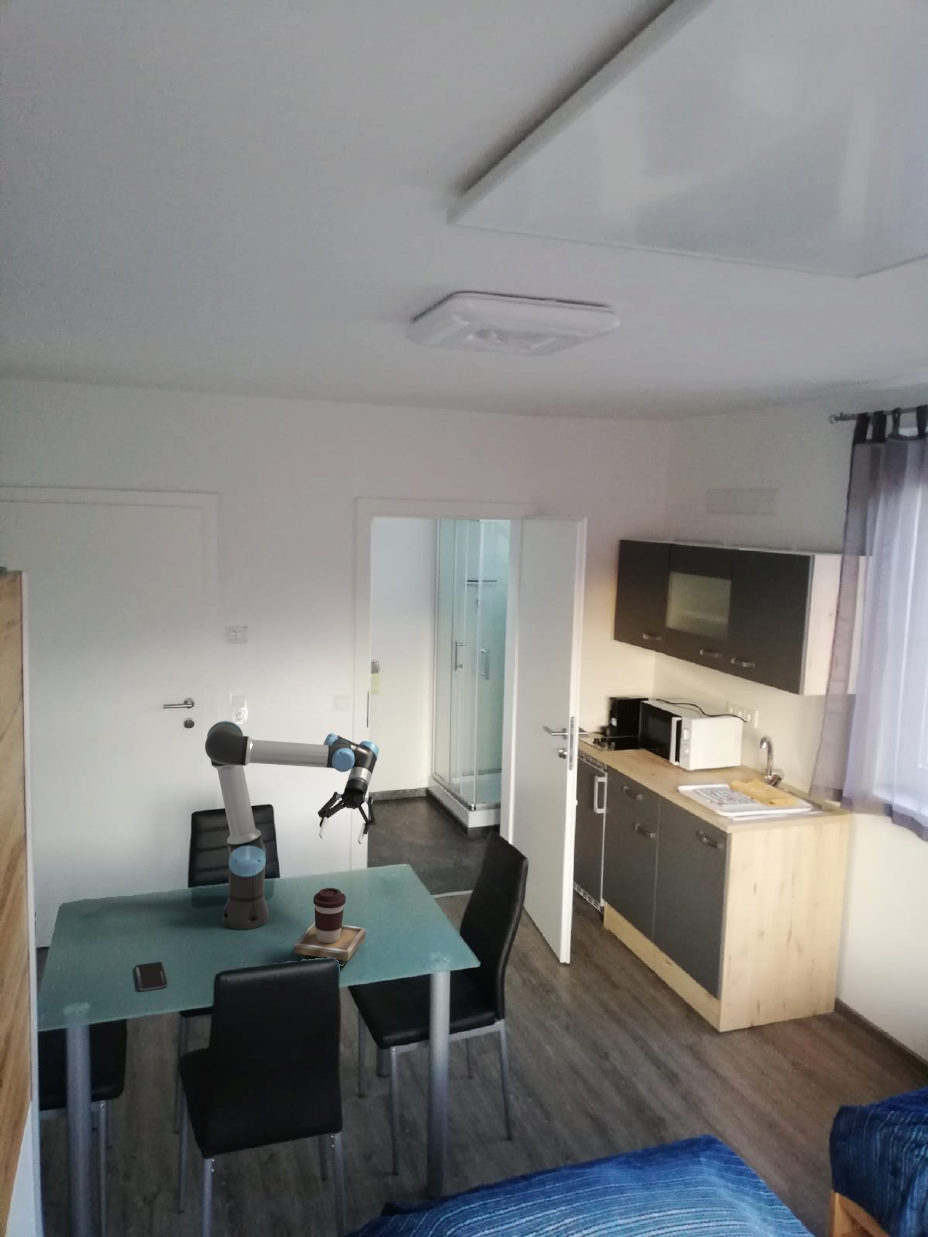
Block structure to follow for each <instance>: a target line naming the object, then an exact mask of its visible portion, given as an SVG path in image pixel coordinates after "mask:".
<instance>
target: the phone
mask: <svg viewBox="0 0 928 1237" xmlns="http://www.w3.org/2000/svg"><path fill="white" fill-rule="evenodd" d="M164 967H165V966H164V963H163V962H162V961H155V962H147V963H141V964H136V965H135V966H134V972H135V979H136V985H137V991H138V992H139V993H145V992H151V991H159V990H164V989H167V988H168V980H167V977H166V973H165V968H164Z"/></svg>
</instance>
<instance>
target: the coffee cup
mask: <svg viewBox="0 0 928 1237" xmlns="http://www.w3.org/2000/svg"><path fill="white" fill-rule="evenodd" d="M312 899H313V902H312V903H313V904H314V905H315V907H314V922H315V927H316V939H317V940H318V941H319V942H322V943H333V942H336V941H338V940H339V938H340V931H341V926H342V925H343V918H344V911H345V910H344V909H345V908H344V905H345V904H346V901H347V897H346V894H344V893H343V892H341V890H340V889H338V888H334V887H325V888H322V889H320V890H319V891H318V892H317V893H315V894H314V896H313V898H312Z"/></svg>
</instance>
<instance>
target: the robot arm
mask: <svg viewBox="0 0 928 1237" xmlns="http://www.w3.org/2000/svg"><path fill="white" fill-rule="evenodd" d="M206 735H207V736H206V740H205V742H204V743H205V744H204V751H205V753H206V756H207V757H208V758H209V759H210V763H211V766H212V767H213V768H214V769H216V770H217V774H218V779H219V780H218V781H219V784H220V790H221V796H222V800H223V804H224V809H225V815H226V819H227V825H228V830H229V835H228V837H227V839H226V842H227V848H228V853H229V859H228V892H227V894H228V896H227V897H228V898H227V899H226V903H225V906H224V909H223V911H222V914H221V915H222V918H221V922H222V924H223V925H224V926H225V927H228V928H229V929H233V930H252V929H256V928H260V927H262V926H263V925H265V924H267V923H268V922H269V920H270V919H269V918H270V913H269V912H270V911H269V908H268V905H267V901H266V898H265V882H266V881H265V879H266V878H265V877H266V872H265V871H266V862H267V859H266V855H267V850H266V846H265V844H264V841H263V837H262V832H261V830H259V829H258V828H256V824H255V820H254V819H255V818H254V816H253V810H252V805H251V800H250V794H249V789H248V784H247V780H246V773H245V768H244V766H245V767H247V765H249V764H263V765H277V766H279V765H280V766H293V767H294V766H295V767H307V768H321V769H322V768H323V769H325V768H327V769H334V770H336V771H337V772H340V773H347V772H349V771H350V772H349V774H348V779H347V781H346V784H345V787H344V790H343V793H338V791H334V792H333V794H332V796H331V797H330V798H329V799H328V801H327V802H326V803H325V804H324V805H322V807H321V808H320V809H319V810H318V811H317V814H318V816H319V818H320V819H321V820H320V822H319V827H320V830H319V832H318V836H319V838H320V839H324V836H325V834H326V833H325V832H326V830H327V827H328V825H329V819H330V817H332V816H334V815H335V814H336V813H337V812H339V811H340V810H343V809H345V808H346V809H352V810H356V809H358V810H359V813H360V815H361V816H362V819H363V820H364V822H362V825H361V828H360V830H359V835H358V837H357V843H358V844H359V845H362V844H363V840H364V836H366V835H367V834H368V832H369V830H370V827H371V826H376V825H377V821H376V816H375V812H374V808H373V805H374V800H373V799H374V798H373V797H372V796H368V797H366V795H367V792H368V788H369V785H370V781H371V779H372V776H373V772H374V769H375V766H376V762H377V761H378V756H379V751H380V749H379V746H378V745H377V744H376V743H374V742H372V741H367V740H363V741H361V742H360V743H359V744H358V743H356V742H353V741H351V740H349V739H346V738H344V737H343V736H340V735H339V734H338V735H337V734H335V733H332V732H331V733H329V734H327V736H326V738H325V740H324V741H323V744H318V743H317V744H316V743H299V742H289V741H273V740H261V739H253V738H252V737H251V736H248V735H247V736H246V735H244V733H243V730H242V729H241V727H240V726H239V725H238V724H237V723H235V722H233V721H232V720H220V721H218V722H217V723H215V724H213V725H211V727H210V728H209V729H208V732H207V734H206ZM337 801H338V802H337ZM364 803H366V805H367V806H368V813H369V818H370V819H369V818H368V816H367V814H366V812H365V810H364V808H363V807H362V805H363V804H364Z"/></svg>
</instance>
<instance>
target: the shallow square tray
mask: <svg viewBox="0 0 928 1237" xmlns="http://www.w3.org/2000/svg"><path fill="white" fill-rule="evenodd" d="M366 933H367V932H366V927H361V926H360V927H359V926H353V925H348V924H342V926H341V931H340V938H339V940H338V941H336V942H333V943H322V942H319V941H318V940H317V939H316V927H315V921H313V923H312V924H311V925H309V928H307V930H306V931H305V932H304V933H303V934H302V935H301V936H300V937H299V939H298V940H297V941H296V942H295V943H294V952H293V953H294V954H299V955H300V956H301V957H300V958H301V960H302V959H307V958H309V956H310V957H311V956H312V957H319V958H324V957H332V958H336V959H335V960H337V959H338V960H337V961H338V963H339V962H340V964H341V965H343V964H344V963H345V964H346V962H349V961H350V959H351V958H352V956H353V954H354V953H355V952H356V951H357V949H358V947H359V946H360V945H361V944H362V943H363V941H364V939H365V938H366ZM307 960H308V959H307ZM345 961H346V962H345Z"/></svg>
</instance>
